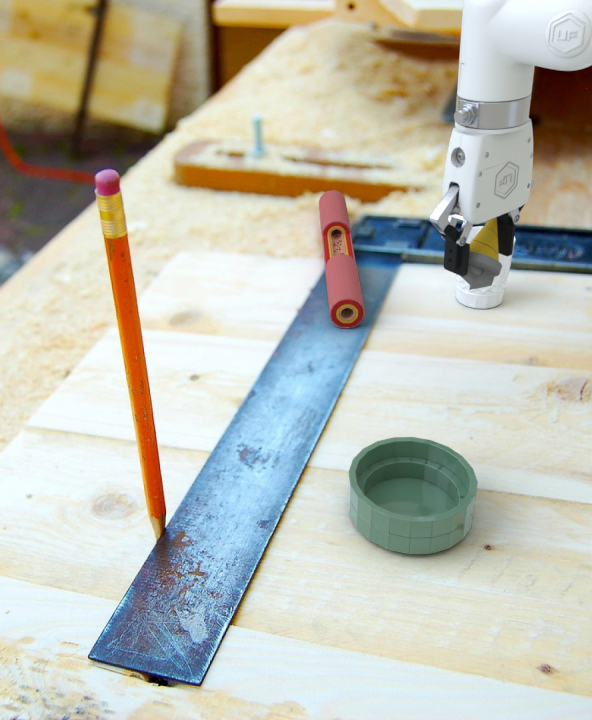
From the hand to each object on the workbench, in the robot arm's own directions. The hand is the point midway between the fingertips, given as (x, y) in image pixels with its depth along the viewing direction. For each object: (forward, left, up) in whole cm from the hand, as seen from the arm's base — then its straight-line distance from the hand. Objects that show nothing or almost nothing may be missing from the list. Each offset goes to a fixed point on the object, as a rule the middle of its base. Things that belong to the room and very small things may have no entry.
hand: (478, 261), depth 91 cm
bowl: (+24, +14, -16) cm, 32 cm away
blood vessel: (-7, -34, -16) cm, 38 cm away
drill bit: (0, 0, -2) cm, 2 cm away
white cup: (-16, -12, -16) cm, 25 cm away
